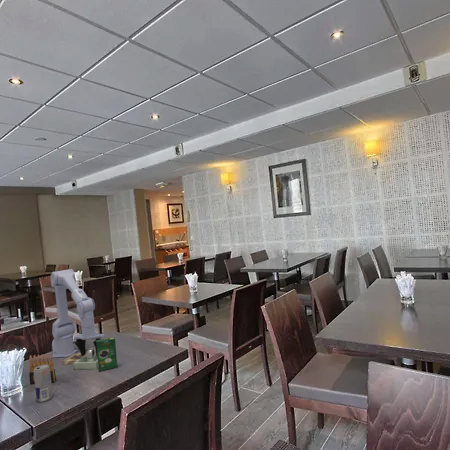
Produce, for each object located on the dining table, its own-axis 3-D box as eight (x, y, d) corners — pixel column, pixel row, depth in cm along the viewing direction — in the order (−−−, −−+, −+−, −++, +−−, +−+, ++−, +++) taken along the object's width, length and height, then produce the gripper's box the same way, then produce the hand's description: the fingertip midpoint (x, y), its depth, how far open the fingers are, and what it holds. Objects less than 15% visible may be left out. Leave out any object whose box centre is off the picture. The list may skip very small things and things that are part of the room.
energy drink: (40, 396, 128) (37, 365, 128) (55, 394, 129) (51, 363, 129) (34, 403, 123) (30, 371, 123) (49, 401, 123) (45, 369, 123)
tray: (74, 370, 151) (73, 363, 151) (88, 359, 162) (87, 353, 162) (96, 369, 149) (95, 362, 149) (109, 359, 160) (108, 352, 160)
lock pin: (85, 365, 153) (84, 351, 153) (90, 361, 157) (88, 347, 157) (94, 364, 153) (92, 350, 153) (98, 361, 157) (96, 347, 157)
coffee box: (117, 365, 151) (114, 336, 151) (118, 367, 148) (115, 337, 148) (98, 369, 148) (95, 340, 148) (98, 372, 146) (95, 341, 146)
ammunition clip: (56, 381, 141) (53, 352, 141) (53, 383, 139) (50, 354, 139) (32, 382, 142) (29, 354, 142) (29, 384, 140) (26, 356, 140)
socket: (62, 364, 159) (62, 361, 159) (75, 356, 169) (74, 353, 169) (81, 363, 157) (81, 360, 157) (93, 355, 167) (93, 352, 167)
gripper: (106, 322, 158) (109, 351, 158) (79, 323, 161) (82, 352, 161) (98, 327, 151) (101, 357, 151) (69, 328, 154) (72, 358, 154)
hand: (91, 355), depth 155 cm, fingers open, 7 cm apart
